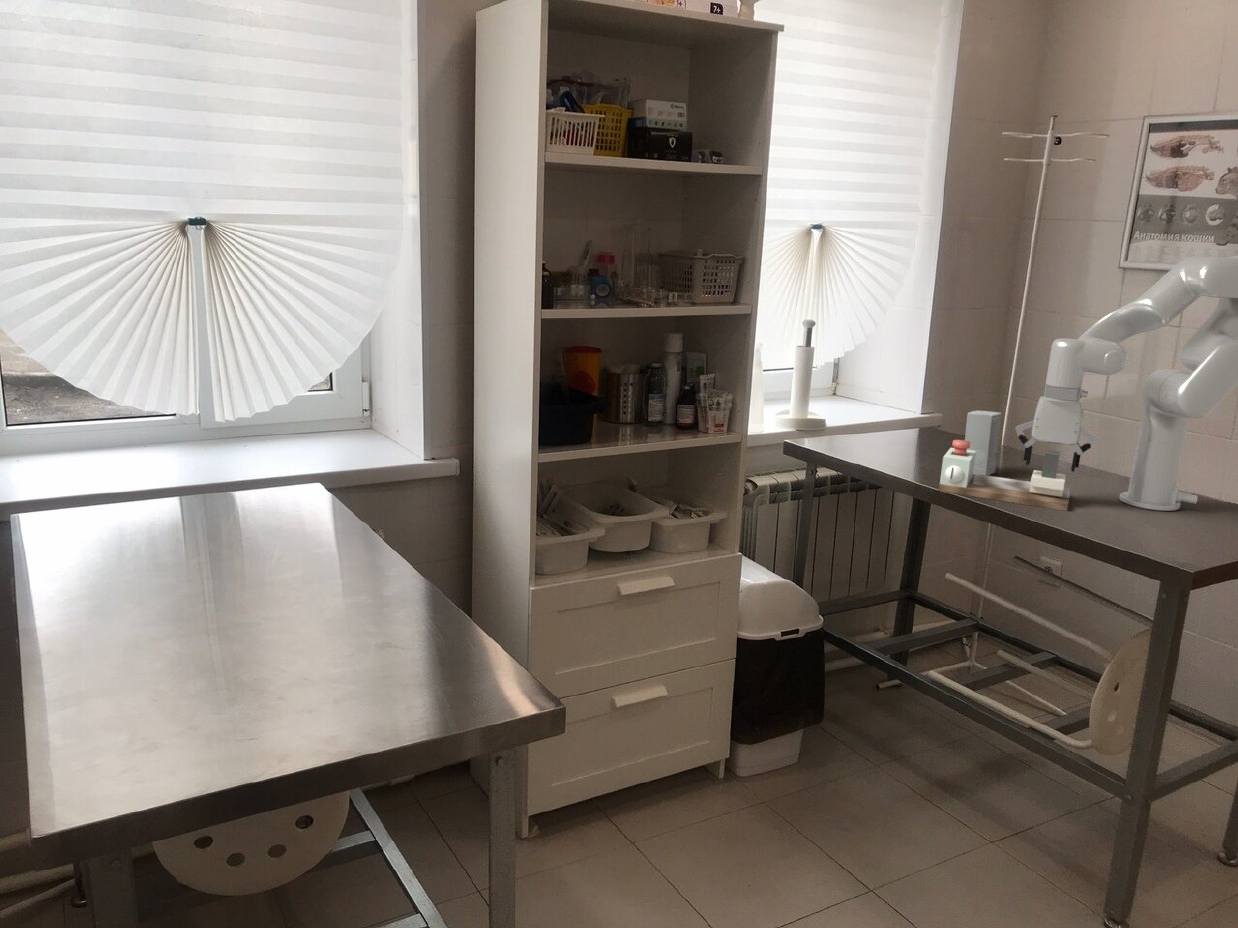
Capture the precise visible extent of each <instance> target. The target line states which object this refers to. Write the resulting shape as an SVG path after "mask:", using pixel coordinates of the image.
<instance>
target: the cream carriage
mask: <svg viewBox="0 0 1238 928" xmlns="http://www.w3.org/2000/svg"><path fill="white" fill-rule="evenodd" d="M1060 455H1061V451H1059V450H1058V451H1057V450H1049V449H1046V450H1045V452H1044V457H1043V464H1042V470H1035V469H1033V471H1032V475H1031V479H1030V482H1031V483H1030V491H1029V492H1034V493H1041V494H1048V495H1054V496H1061V497H1062V495H1063V489H1064V487H1065V482H1066V476H1067V474H1063V473H1058V469H1059V468H1058V467H1059V461H1060Z"/></svg>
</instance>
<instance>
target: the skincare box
mask: <svg viewBox="0 0 1238 928" xmlns="http://www.w3.org/2000/svg"><path fill="white" fill-rule="evenodd" d="M1002 414H1003V413H1002V412H997V411H989V410H988V411H987V410H979V409H978V410H972V411H969V412H967V416H966V425H965V434H964V435H965V436H964V437H965V438H964V441H969V442H970V448H968V449H967V450H972V451H976V456H975V463H974V469H973V476H975V474H981V475H987V476H992V475H993V474H995V473H996V467H997V458H998V451H999V450H998V448H999V443H1000V442H999V441H1000V431H1001V422H1002V416H1003V415H1002Z"/></svg>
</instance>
